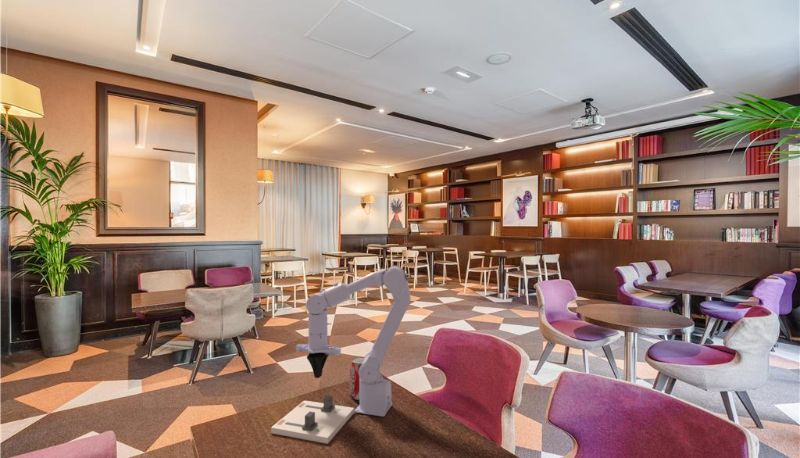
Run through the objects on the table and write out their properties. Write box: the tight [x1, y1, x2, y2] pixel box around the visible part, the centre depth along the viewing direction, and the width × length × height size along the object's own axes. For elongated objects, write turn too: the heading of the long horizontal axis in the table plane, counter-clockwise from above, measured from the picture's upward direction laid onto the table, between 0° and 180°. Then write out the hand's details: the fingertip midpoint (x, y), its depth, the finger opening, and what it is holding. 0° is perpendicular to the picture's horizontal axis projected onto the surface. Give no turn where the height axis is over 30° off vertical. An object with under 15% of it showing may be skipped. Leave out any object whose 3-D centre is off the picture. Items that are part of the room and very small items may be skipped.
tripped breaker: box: [302, 412, 318, 431], centre depth 94 cm, size 3×3×3 cm
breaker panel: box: [270, 400, 355, 445], centre depth 99 cm, size 17×16×2 cm
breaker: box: [321, 394, 335, 412], centre depth 103 cm, size 3×3×3 cm
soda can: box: [349, 356, 365, 401], centre depth 115 cm, size 7×7×12 cm
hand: (318, 376), depth 108 cm, fingers closed
